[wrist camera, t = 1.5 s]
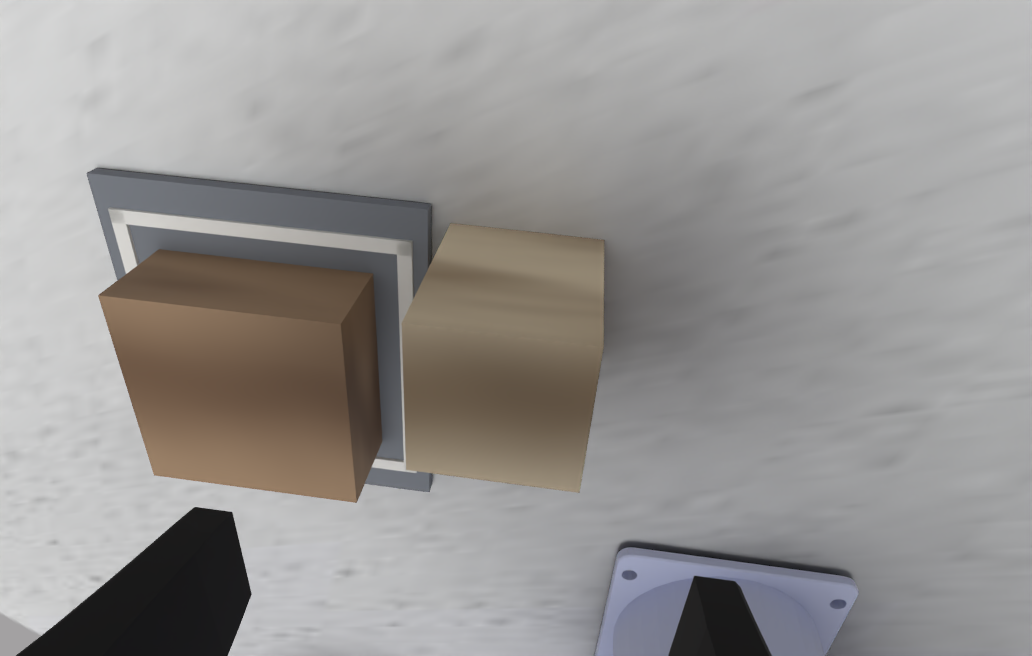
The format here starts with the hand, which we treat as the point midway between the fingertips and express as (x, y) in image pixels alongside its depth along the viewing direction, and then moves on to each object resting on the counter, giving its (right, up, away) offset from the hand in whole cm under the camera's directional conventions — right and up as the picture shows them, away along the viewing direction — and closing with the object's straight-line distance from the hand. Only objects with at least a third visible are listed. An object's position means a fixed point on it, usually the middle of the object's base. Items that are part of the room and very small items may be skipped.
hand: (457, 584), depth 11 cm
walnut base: (-6, +3, +9) cm, 12 cm away
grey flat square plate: (-6, +4, +10) cm, 12 cm away
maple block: (+1, +5, +8) cm, 9 cm away
